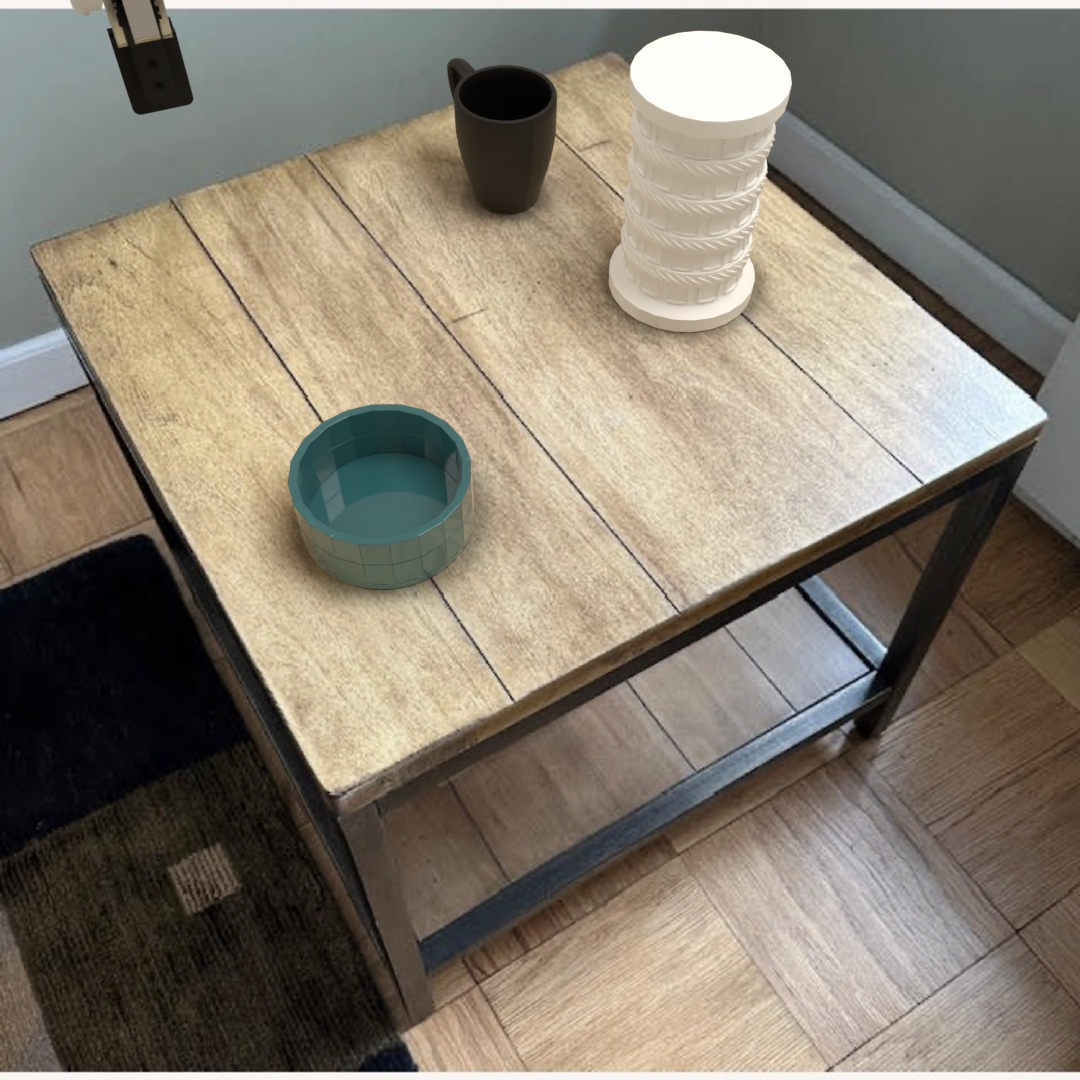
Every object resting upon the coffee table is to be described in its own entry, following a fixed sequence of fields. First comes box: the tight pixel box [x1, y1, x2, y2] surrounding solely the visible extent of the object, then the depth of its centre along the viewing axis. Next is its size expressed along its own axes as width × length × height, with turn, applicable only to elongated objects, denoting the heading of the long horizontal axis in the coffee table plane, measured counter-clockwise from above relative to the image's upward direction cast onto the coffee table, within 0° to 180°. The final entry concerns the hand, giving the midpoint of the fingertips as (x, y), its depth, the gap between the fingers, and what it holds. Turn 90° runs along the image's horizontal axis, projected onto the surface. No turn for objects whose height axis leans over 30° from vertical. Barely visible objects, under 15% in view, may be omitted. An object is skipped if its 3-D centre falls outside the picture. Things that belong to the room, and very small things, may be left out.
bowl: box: [287, 403, 475, 590], centre depth 72 cm, size 12×12×5 cm
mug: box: [446, 57, 558, 215], centre depth 91 cm, size 8×12×10 cm
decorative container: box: [608, 30, 793, 333], centre depth 81 cm, size 12×12×18 cm
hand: (162, 101), depth 59 cm, fingers closed
